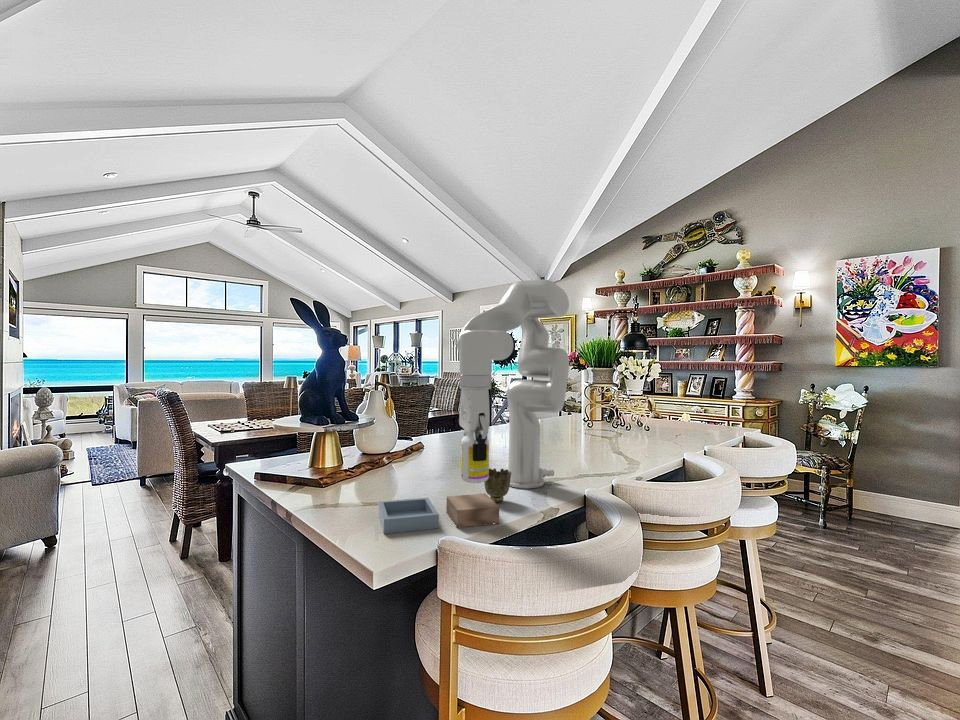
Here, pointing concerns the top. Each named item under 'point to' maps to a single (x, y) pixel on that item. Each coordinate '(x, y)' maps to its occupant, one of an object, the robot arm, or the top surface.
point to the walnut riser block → (472, 510)
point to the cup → (498, 484)
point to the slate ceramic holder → (407, 515)
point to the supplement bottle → (470, 468)
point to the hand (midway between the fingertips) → (474, 456)
